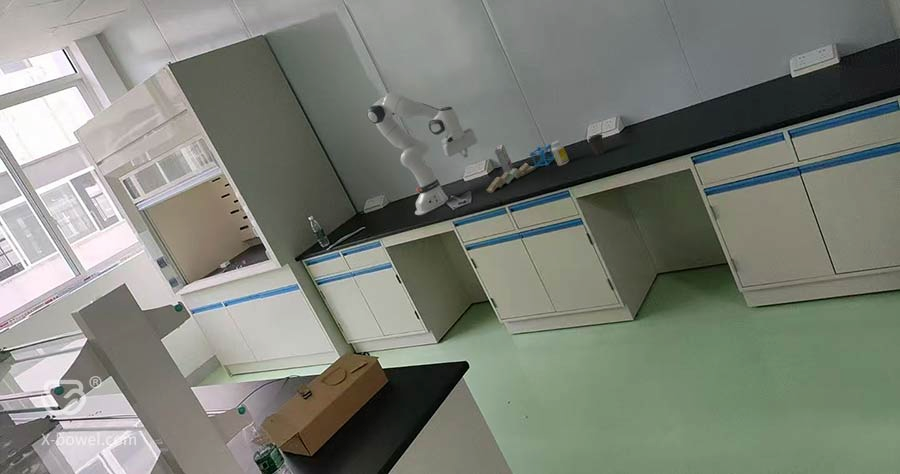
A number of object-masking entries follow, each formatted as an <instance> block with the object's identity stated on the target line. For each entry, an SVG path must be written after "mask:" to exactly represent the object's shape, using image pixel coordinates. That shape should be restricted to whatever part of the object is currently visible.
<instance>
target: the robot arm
mask: <svg viewBox="0 0 900 474" xmlns="http://www.w3.org/2000/svg"><path fill="white" fill-rule="evenodd" d="M393 115H396V116H398V117H400V118H403V119H411V118H414V117H420V116H421V117H423V116H424V117H428V118H430V121H429V122H428V129H429V131H430V132H431V133H432V134H433V135H435V136H436V135H437V136H438V135H441V134H443V133H445V132H446V136H445V137H443V139H442V140H441V143H442V144H443V145H442V148H443V153H444V156H446V157H448V158H450V157H452V156H454V155H457V154H459V155H460V156H461V157H462V159H466V158H467V157H469V154H468V151H469V149H468V148H469V147H471V146H474V145H476V144H478V139H477V136H476V135H475V132H474V130H473V128H467V129H465V130H463V127H462V125H461V124H460V121H459V117H458V115H457V113H456V111H455V109H454V108H453V107H451V106H445V107H442V108H440V109H439V108H436V107H433V106H431V105H429V104H425V103H422V102H418V101H415V100H412V99H409V98H407V97H406V96H404V95H403V96H402V95H401V94H398V93H396V92H395V93H393V92H388V93H387V94H385V95H383V97H381V98H379V99H378V100H377V101H375V102H374V103H373V104H372V105H371V106H370V107H369V108H368V109H367V111H366V117H367V118H368V120H369V121H370V122H371V123H373V124H375V125H376V127H377V129H378V131H379V132H380V134H381V135H382V136H383V137H384V138H385V139H386V140H388V142H389V143H390V144H391V145H392V146H393V147H394V148H398V149H401V150H402V153H401V156H400V164H402V166H404V167H405V168H408V169H409V170H410V172H411V173H412V174H413V175H414V177H415V179H416V182H417V183H418V185H419V187H417V188H415V191H416V192H418V193H419V195H418V198H417V199H416V201H415V208H416V210H415V211H414V215H417V216H422V215H425V214H427V213H428V212H431V211H433V210H435V209H436V208H439V207H441V206H442V205H444V204H446V202H447V201H448V200H449V197H448V196H447V195H446V194H445V192H444V190H443V189H442V186H441V184H440V181H439V180H438V178H437V177H436V175H435V173H434V171H433V168H432V167H431V166H429V165H428V164H426V162H425V161H424V159H425V158H426V157H427V156H428V154H429V151H430V147H429V145H428V143H426V142H425V141H422V140H419V139H416V138H415V137H414V136H412V135H410V134H409V133H408V132H407V131H406V130H405V129H404V128H402V126H400V125H399V123H398V122H396V121H395V120H394V118H393ZM463 151H464V153H463Z"/></svg>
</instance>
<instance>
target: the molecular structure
mask: <svg viewBox="0 0 900 474" xmlns="http://www.w3.org/2000/svg"><path fill="white" fill-rule="evenodd" d="M548 150H549V151H550V154H551V156H552V157H551V156H546V153H547V152H548ZM529 156H530V157H531V158H532V160H533V163H534V167H535V169H538V168H539V167H542V166H546V167H548V166H549V165H550V163H551V162H553V161H556V160H555V157H554V155H553V152H552V145H551V144H550V143H549V144H547V146H542V147H540V146H537V148H536V149H535V150H534V151H531V152H529ZM535 156H536V157H540V159H539V160H538V162H536V160H535V158H534V157H535ZM546 158H547V159H546ZM542 163H543V164H542Z"/></svg>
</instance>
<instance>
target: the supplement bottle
mask: <svg viewBox="0 0 900 474" xmlns="http://www.w3.org/2000/svg"><path fill="white" fill-rule="evenodd" d="M550 145H551V151H552V153H553V156H554V157H555V160H554V161H555V162H556V164H557V166H559V167H560V166H563V165H566V164H568V163H569V162H570V160H569V157H568V154H567V152H566V149H565V148H564V144H561V142H560V140H556V141H553V142H551V144H550Z"/></svg>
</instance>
